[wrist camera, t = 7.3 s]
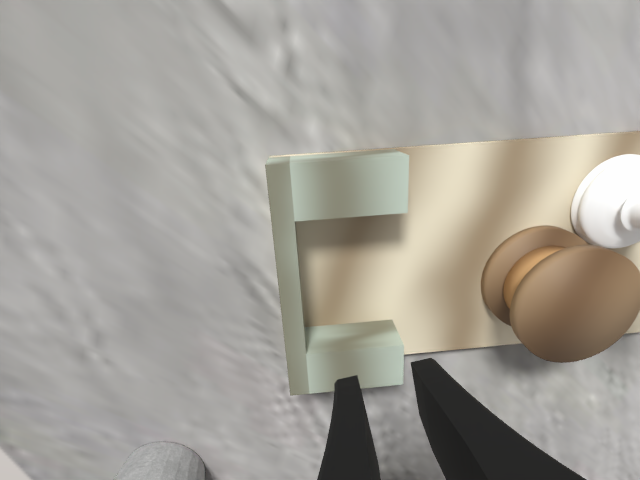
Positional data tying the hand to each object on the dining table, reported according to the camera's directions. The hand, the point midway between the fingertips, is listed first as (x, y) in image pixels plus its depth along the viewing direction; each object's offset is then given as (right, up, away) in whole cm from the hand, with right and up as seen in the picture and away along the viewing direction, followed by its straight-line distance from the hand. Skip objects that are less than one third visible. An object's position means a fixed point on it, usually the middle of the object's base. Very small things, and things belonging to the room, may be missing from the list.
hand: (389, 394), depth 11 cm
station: (+7, +4, +10) cm, 12 cm away
